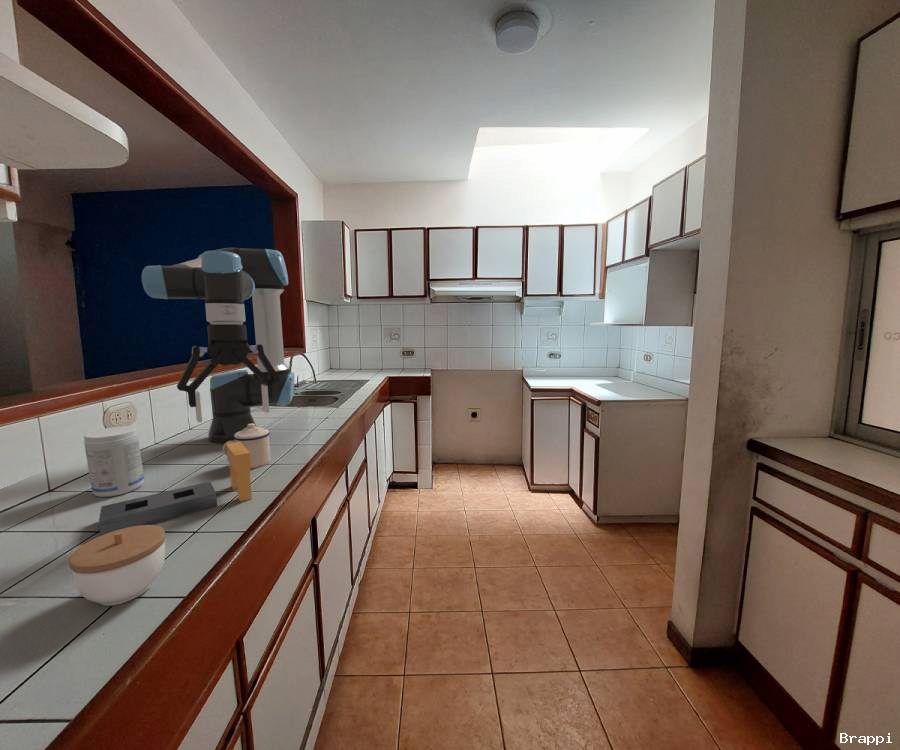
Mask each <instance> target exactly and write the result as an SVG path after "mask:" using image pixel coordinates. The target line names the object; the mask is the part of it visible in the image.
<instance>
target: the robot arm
mask: <svg viewBox="0 0 900 750" xmlns="http://www.w3.org/2000/svg"><path fill="white" fill-rule="evenodd" d="M141 284H142V287H143V290H144V292H145V293H146V294H147V296H149V297H150V298H152V299H164V300H170V299H171V300H176V299H177V300H181V299H183V300H186V299H187V300H204V301H205V302H204V305H205V315H206V316H205V317H206V322H208V323H209V324H208V325H207V326H206V328H207V339H208V345H207V347H205V346H197V345H193V346H192V347H191V355H190V359H189V360H188V363H187V364H186V366H185V368H184V370H183V373H182V374H181V376H180V379H179V381H178V383H177V385H176V388H177V390H178V391H182V392H186V393H187V398H188V405H189V407H190V408H195V417H196V421H197V423H203V417H202V404H201V395H200V391H199V390H197V389H198V388H199V387H200V386H201V385H202V384H203V382H204V381H205V380H206V379H207V377H208V376H209V375H210V374H211V373H212V372H213V370H215V368H217V367H218V365H220V366H230V365H234V366H238V365H240V364H241V363H242V364H243V365H244V366H245V367H247V368H248V369H249V370H250V371H251V372H252V373H249V371H248V370H247V369H238V370H232V371H225V372H222V373H217V374H214V375H212V376H211V377H210V379H209V392H210V403H211V412H212V420H211V423H210V426H209V431H208V441H209V442H211V443H217V444H223V443H224V444H225V443H226V442H228V441H233V440H235V439H234V435H235V434H236V433H237V432H239V431H242V430H243V429H245V428H247V425H248V424H252V423H253V424H255V427H258V425H257V423H256V421H255V419H254V417H253V416H252V413H251V408H252V407H253V408H254V407H262V411H263V412H264V413H265V414H268V413H270V406H271V407H272V406H277V407H279V406H284V405H285V406H286V405H289V404H290V403H291V402H292V400H293V396H294V390H295V373H294V372H292V371H290V367H289V366H288V365H287V364H286V362H285V355H284V354H285V353H284V338H283V326H282V324H283V323H282V313H281V298H280V296H281V294H282V293H283V292H285V286H288V285H289V276H288V271H287V267H286V263H285V259H284V256H283V254H282V252H281V251H279V250H277V249H269V248H268V249H267V248H246V247H245V248H244V247H242V248H241V247H224V248H218V249H215V250H206V251H204V252H203V253H201V254H199V256H197V258H195V259H192V260H187V261H185V262H184V261H183V262H181V263H177V264H172V265H160V264H158V265H147V266H145V267H144V268H143V269H142V272H141ZM251 297H252V308H253V309H252V311H253V322H254V334H255V335H254V336H255V344H254V345H249V343H248V335H247V334H248V333H247V326H246V325H245V324H244V323H245V322H246V310H245V301H246V300H248V299H250V298H251ZM251 352H252V353H253V354H255V355H256V360H257V364H256V365H255V364H254V362H252V360H250V359H249V358H248V357H247V356H248V354H249V353H251ZM206 353H207V354H208V355H209V356H210V357H211V359H210V360H209V361H208V363H207V364H206V366H204V367H203V369H202V370H201V371H200V372H199V374H198V375H197V376H196V377H195V378H194V380H192V382H190V384H189V385H187V384H188V383H189V380H190V378H191V377H192V375H193V372H194V371H195V368H196V367H197V365H198V362H199V360H200V358H202V357H203V356H204V355H205V354H206Z"/></svg>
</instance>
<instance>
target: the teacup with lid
mask: <svg viewBox="0 0 900 750" xmlns="http://www.w3.org/2000/svg"><path fill="white" fill-rule="evenodd" d="M255 424H256V423H255ZM255 424H253V423H252V424H248V425H247V428H245V429H243V430H242V431H239V432H237V433H236V434H235V435H234V439H235V440H233V441H228V442H226V443H224V444H223V446H222V452H223V454H224V455H225V456H226V457H227V449H226V444H229V443H234V442H241V443H242V444H243V446H244V447H245V448H246V449H247V450H248V451H249V452H250V464H251V469H256V468H260V467H263V466H265V465H268V464H269V463H271V450H270V448H271V446H270V431H269V430H268V429H266V428H261V427H259V426H257V427H255Z"/></svg>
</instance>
